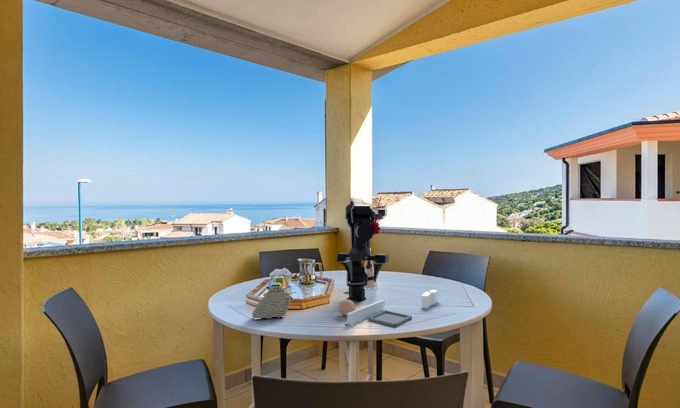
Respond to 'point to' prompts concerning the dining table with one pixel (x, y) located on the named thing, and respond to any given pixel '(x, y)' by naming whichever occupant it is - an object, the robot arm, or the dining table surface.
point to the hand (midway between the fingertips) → (362, 281)
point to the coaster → (390, 318)
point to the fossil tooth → (273, 304)
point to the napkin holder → (429, 298)
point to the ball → (346, 307)
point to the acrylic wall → (365, 312)
